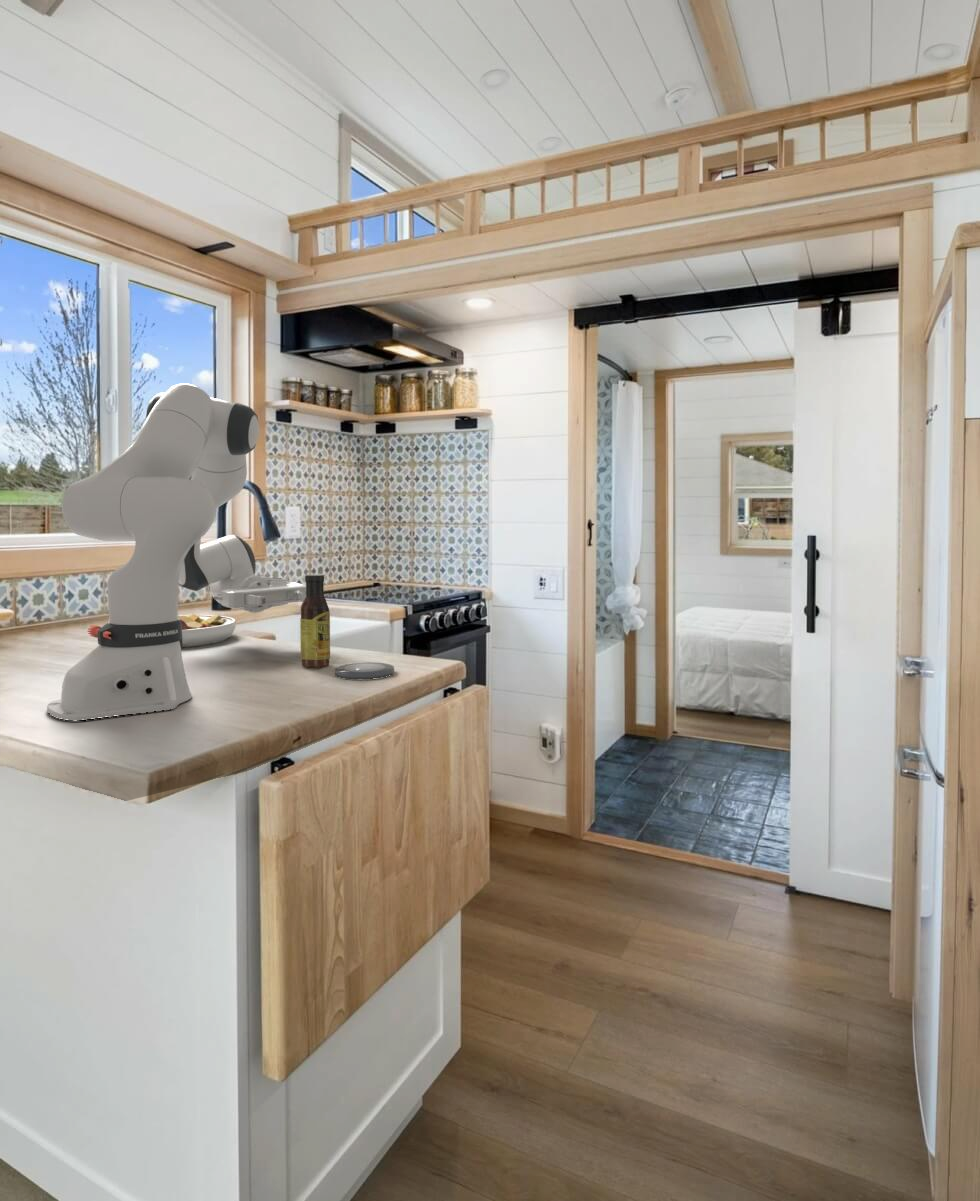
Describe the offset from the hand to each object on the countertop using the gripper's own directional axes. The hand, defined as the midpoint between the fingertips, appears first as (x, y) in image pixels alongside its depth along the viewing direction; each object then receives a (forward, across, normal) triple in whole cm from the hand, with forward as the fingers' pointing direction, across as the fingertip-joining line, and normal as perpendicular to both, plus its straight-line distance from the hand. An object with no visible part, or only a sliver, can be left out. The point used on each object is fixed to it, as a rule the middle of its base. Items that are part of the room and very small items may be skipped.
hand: (282, 598), depth 173 cm
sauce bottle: (+13, +1, +14) cm, 19 cm away
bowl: (-42, -8, +15) cm, 46 cm away
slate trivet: (+27, +4, +14) cm, 30 cm away
